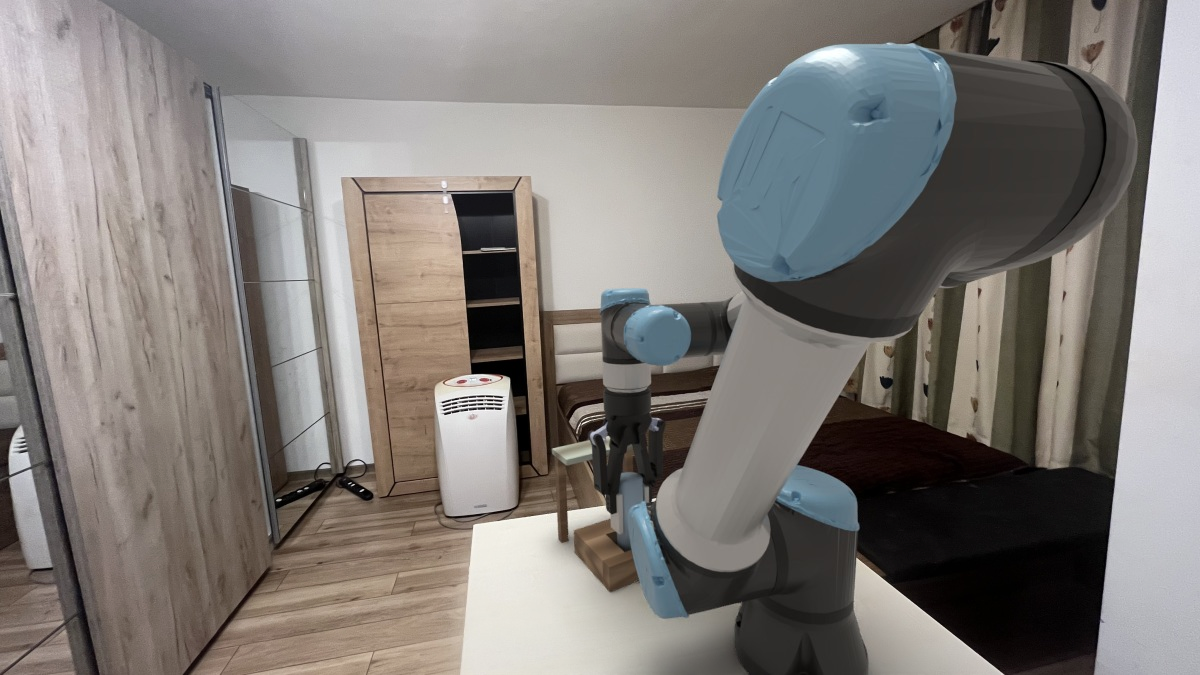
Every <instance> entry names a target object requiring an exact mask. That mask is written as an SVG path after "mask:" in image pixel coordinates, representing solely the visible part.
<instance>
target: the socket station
mask: <svg viewBox="0 0 1200 675" xmlns="http://www.w3.org/2000/svg"><path fill="white" fill-rule="evenodd" d="M606 440H607V442H606V443H605V446H606V457H607V456H608V457H609V453H610V448H609V442H610V437H609V436H608V435H606ZM551 454H552V455H553V456H554V474H555V491H556V492H555V494H556V495H555V497H556V498H555V499H556V517H557V535H558V536H557V537H558V538H557V539H558V540H559V541H560V543H565V542H569V520H568V517H569V515H568V514H569V513H568V496H567V495H568V493H567V492H568V491H567V472H566V470H567V469H566V468H567V467H566V466H571V465H575V464H579V463H584V462H588V461H591V460H592V461H593V459H592V445H591V442H590V440H589V439H588V440H584V441H579V442H576V443H572V444H567V445H563V446H557V447H554V448H551ZM633 457H634V451H633V446H632V444H631V445H629V446H627V452H626V453H625V454H624V459H623V465H622V473H625V472H633V473H634V458H633ZM573 546H574V554H576V555H577V557H578V558H579V559H580V560H581V561H582V562H583V564H584V565H585V566H586V567H587V568H588V570H590V571H591V573H592V574H593V575H594V576H595V577H596V579H598V580H599V582H600V583H601V584H602V585H603V586H604V587H605V589H607V591H608V592H609V593H612V592H613V591H616V590H618V589H621V588H623V587H626V586H628V585H631V584H634V583H635V582H638V581H639V578H638V574H637V570H636V566H635V562H634V558H633V554H632V550H630V551H627V552H624V551H623V550H622V549H621V548H620V547H619V546H617V532H616V531H615V530H614V529H613V528H611V518H608V519H605V520H602V521H599V522H595V523H592V524H590V525H585V526H583V527H580V528H576V529H574V530H573Z"/></svg>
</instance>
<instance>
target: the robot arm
mask: <svg viewBox="0 0 1200 675" xmlns="http://www.w3.org/2000/svg"><path fill="white" fill-rule="evenodd" d="M1138 142H1139V141H1138V135H1137V128H1136V122H1135V120H1134V117H1133V115H1132V113H1131V111H1130V109H1129V107H1128V105H1127V103H1126V102H1125V100H1124V98H1123V97H1122V96H1121V95H1120V94H1119V93H1118V92H1117V91H1116V90H1115V89H1114V88H1113V87H1112V86H1110V84H1108V83H1107V82H1106V81H1104V80H1102V78H1099V77H1098V76H1096V75H1095V74H1094V73H1091V72H1089V71H1085V70H1084V69H1080V68H1077V67H1075V66H1073V65H1068V64H1065V63H1061V62H1052V61H1044V60H1028V59H1027V60H1019V59H1012V58H1005V57H1004V58H1003V57H997V56H990V55H989V56H988V55H981V54H974V53H967V52H960V51H959V52H957V51H951V50H944V49H936V48H928V47H923V46H920V45H918V44H916V43H913V42H911V43H906V44H903V43H902V44H900V43H894V42H884V43H881V44H879V43H864V44H863V43H845V44H841V43H840V44H833V45H829V46H824V47H821V48H818V49H815V50H813V51H810V52H807V53H806V54H804V55H802V56H800V57H798V58H797V59H795V60H793V61H792V62H791V63H789V64H788V65H786V66H785V68H783V70H782V71H781V73H780V74H778V75H777V76H776V77H774V78H772V79H771V80H769V81H768V82H767V83H766V84H765V85H764V87H763V88H762V89H760V92H759V93H758V94H756V96H755V98H754V99H753V100H752V102H751V103H750V104H749V106H748V107H747V109H746V110H745V111H744V113H743V116H742V117H741V119H740V121H739V122H738V125H737V126H736V128H735V131H734V133H733V135H732V138H731V140H730V142H729V145H728V148H727V150H726V153H725V156H724V159H723V163H722V166H721V170H720V176H719V179H718V186H717V196H716V197H717V199H718V200H719V201H721V207H720V209H719V211H717V214H716V218H717V226H718V232H719V236H720V239H721V243H722V246H723V248H724V251H725V252H726V254H727V255H728V257H729V258H730V260H731V261H732V274H733V275H732V276H733V277H734V280H735V282H736V283H737V285H738V286H739V288H740V289H741V291H740V292H738V293H737V294H734V295H733V296H730V298H728V299H726V300H720V301H719V300H718V301H705V302H703V301H702V302H685V303H682V302H681V303H668V304H667V303H664V304H663V303H662V304H661V303H660V304H651V302H650V293H649V290H647V289H646V288H642V287H630V288H629V287H625V288H622V287H621V288H610V289H609V288H608V289H605V290H604V291H602V293H601V295H600V309H599V315H600V327H601V328H600V330H601V333H600V334H601V354H602V384H603V386H604V387H605V388H604V389H603V391H602V392H603V393H602V395H603V397H602V398H603V400H602V401H603V412H604V419H603V423H602V426H601V427H600V428H598V429H596V430H595V431H594V430H590V431H588V432H587V437H588V440H590V442H591V445H592V474H593V489H595V490H596V491H597V492H599V493H600V494H601V495H602V496H605V509H606V511H607V512H608V513H609V515H610V519H611V528H613V529H614V530H615V531H616V532H617V533H618V534H619V535H620V534H623V497H622V494H621V493H619V492H618V489H619V483H620V477H621V473H622V472H623V459H624V454H625V453H626V452H627V446H629V445H631V444H632V446H633V456H634V460H635V462H636V467H637V471H638V474H640V475H641V476H642V477H643V501H642V502H641V503H640V504H636V505H634V506H632V507H631V508H630V510H629V513H628V530H629V537H630V543H631V549H632V554H633V558H634V562H635V566H636V570H637V574H638V578H639V580H638V581H639V584H640V587H641V591H642V593H643V595H644V597H645V599H646V602H647V604H648V606H649V609H651V611H652V612H653V613H654V614H655V615H656V616H657V617H659V618H661V619H664V620H665V619H666V620H668V619H677V618H685V619H686V618H689V617H690V615H693V614H699V613H703V612H707V611H711V610H714V609H719V608H724V607H727V606H732V605H736V604H740V606H739V609H738V611H737V614H736V617H735V620H734V630H733V646H734V651H735V653H736V654H735V655H736V657H737V659H738V661H739V663H740V664H741V666H742V667H743V669H744V670H745V671H746V673H747V674H748V675H869V664H870V663H869V655H868V650H867V646H866V645H865V642H864V639H863V637H862V634H861V629H860V626H859V622H858V620H857V616H856V613H855V609H854V608H855V606H854V604H855V602H854V601H855V587H856V585H855V584H856V572H857V570H856V569H857V558H858V557H857V554H858V540H859V538H858V536H859V530H860V523H859V522H858V501H857V500H858V499H857V497H856V495H855V493H854V492H853V490H852V489H851V488H850V487H849V486H848V485H846V483H844V482H843V481H841V480H840V479H839V478H836V477H834V476H832V475H830V474H828V473H825V472H822V471H820V470H818V469H814V468H810V467H808V466H803V465H799V462H800V460H801V459H802V457H803V456H804V454H805V453H806V451H807V449H808V448H809V446H810V444H811V443H812V441H813V439H814V438H815V436H816V434H817V432H818V431H819V429H820V428H821V426H822V424H823V422H824V421H825V419H826V417H827V416H828V414H829V413H830V411H831V409H832V408H833V406H834V404H835V402H836V401H837V400H838V398H839V397H840V394H841V392H842V391H843V389H844V388H845V386H846V384H847V382H848V381H849V380H850V377H851V376H852V374H853V372H854V371H855V369H856V368H857V366H858V364H859V363H860V361H861V360H862V358H863V356H864V355H865V353H866V351H867V350H868V348H869V346H870V345H871V344H874V343H880V342H887V341H892V340H896V339H898V338H901V337H902V336H905V335H906V334H907V333H909V332H910V331H911V330H912V328H914V326H915V325H916V323H917V321H918V320H919V318H920V317H921V315H922V314H923V312H924V311H925V309H926V308H927V307H928V305H929V303H930V302H931V301H932V299H933V297H934V296H935V295H936V292H937V291H938V290H939V288H941V289H951V288H956V287H960V286H963V285H966V284H969V283H972V282H975V281H978V280H980V279H983V278H987V277H991V276H994V275H997V274H1000V273H1001V274H1002V273H1003V272H1004V273H1005V272H1007V271H1010V270H1014V269H1018V268H1021V267H1024V266H1028V265H1031V264H1035V263H1038V262H1041V261H1044V260H1046V259H1049V258H1050V257H1053V256H1056V255H1058V254H1060V253H1062V252H1063V251H1066V250H1068V249H1069V248H1071V247H1073V246H1074V245H1075V244H1077V243H1079V242H1081V241H1082V240H1083V239H1085V238H1086V237H1087V236H1089V235H1090V234H1091V233H1092V232H1093V231H1095V229H1097V228H1098V227H1099V226H1100V225H1101V224H1102V223H1103V222H1104V221H1105V219H1106V218H1107V217H1108V216H1109V215H1110V214H1111V213H1112V211H1113V210H1114V209H1115V208H1116V207H1117V206H1118V204H1119V202H1120V201H1121V199H1122V197H1123V196H1124V194H1125V192H1126V190H1127V188H1129V187H1128V186H1129V185H1130V183H1131V181H1132V176H1133V174H1134V170H1135V167H1136V165H1137V160H1138V159H1137V158H1138V145H1139V143H1138ZM721 355H723V357H722V359H721V361H720V365H719V368H718V370H717V372H716V375H715V378H714V382H713V384H712V387H711V390H710V392H709V394H708V398H707V399H706V400H707V401H706V404H705V406H704V408H703V412H702V414H701V417H700V421H699V423H698V426H697V428H696V431H695V434H694V436H693V439H692V441H691V444H690V448H689V449H688V450H689V451H688V453H687V456H686V459H685V461H684V464H683V467H682V468H679V469H677V470H675V471H674V472H672V473H671V474H670V475H669V476H667V477H666V479H665V480H664V481H663V482H662V484H661V485H660V487H659V490H658V493H657V495H656V497H655V500H653V488H655V487H656V485H657V484H658V482H657V481H656V480H657V479H658V480H661V479H662V478H663V476H664V475H663V474H664V471H663V470H664V468H663V467H664V458H663V457H664V446H663V445H664V432H665V430H666V429H665V428H666V426H667V422H666V421H665V420H663V419H661V418H658V417H656V416H653V417H652V414H651V412H650V411H651V410H652V389H651V388H650V387H649V386H650V385H651V384H652V374H651V372H652V370H651V369H652V366H656V367H657V366H658V367H665V366H670V365H673V364H674V363H676V362H678V361H679V360H680V359H691V358H701V357H709V356H721ZM647 431H648V438H647V436H646V433H647ZM606 436H609V437H610V442H609V448H610V453H609V455H608V459H607V456H606V446H605V443H606V442H607V440H606ZM647 439H648V440H647ZM647 447H648V448H647Z"/></svg>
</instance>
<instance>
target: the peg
mask: <svg viewBox="0 0 1200 675" xmlns="http://www.w3.org/2000/svg"><path fill="white" fill-rule="evenodd" d="M618 492H619V493H621V494H622V497H623V534H620V535H619V534H618V533H617V546H619V547H620V548H621V549H622V550H623V551H624V552H627V551H630V550H632V549H631V543H630V537H629V530H628V513H629V510H630V508H631V507H632V506H634V505H636V504H640V503H641V502H642V501H643V477H642V476H641V475H640V474H639V472H638V473H637V472H634V471H633V472H625V473H623V472H621V477H620V483H619V489H618Z"/></svg>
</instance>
